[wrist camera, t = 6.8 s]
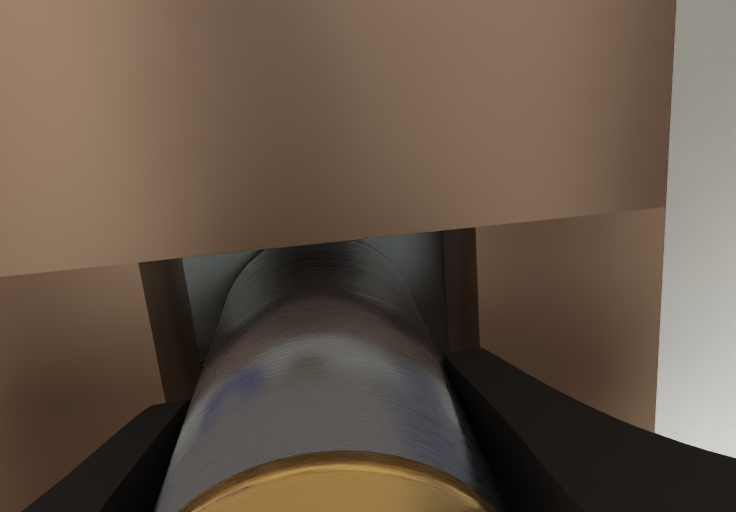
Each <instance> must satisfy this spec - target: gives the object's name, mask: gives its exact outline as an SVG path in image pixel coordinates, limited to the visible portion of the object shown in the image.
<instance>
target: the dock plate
mask: <svg viewBox="0 0 736 512" xmlns="http://www.w3.org/2000/svg"><path fill="white" fill-rule="evenodd" d="M675 16H676V0H0V512H21V511H22V510H24V509H25V508H26V507H27V506H29V505H30V504H31V503H33V502H34V501H35V500H36V499H38V498H39V497H40V496H41V495H43V494H44V493H45V492H46V491H48V490H49V489H50V488H51V487H53V486H54V485H55V484H56V483H58V482H59V481H60V480H62V479H63V478H64V477H65V476H66V475H68V474H69V473H70V472H71V471H72V470H73V469H75V468H76V467H77V466H78V465H79V464H80V463H82V462H83V461H84V460H85V459H86V458H87V457H89V456H90V455H91V454H92V453H93V452H94V451H96V450H97V449H98V448H99V447H100V446H101V445H103V444H104V443H105V442H106V441H107V440H108V439H110V438H111V437H112V436H113V435H114V434H115V433H116V432H118V431H119V430H120V429H121V428H122V427H123V426H125V425H126V424H127V423H128V422H129V421H131V420H132V419H133V418H134V417H136V416H137V415H138V414H139V413H141V412H142V411H143V410H145V409H146V408H148V407H150V406H151V405H156V404H162V403H167V402H173V401H179V400H184V399H190V400H192V397H193V394H194V392H195V389H196V386H197V383H198V380H199V377H200V374H201V367H200V361H199V356H198V350H197V344H196V339H195V333H194V327H193V322H192V316H191V310H190V305H189V299H188V293H187V288H186V282H185V276H184V271H183V265H182V259H181V258H185V257H195V256H205V255H214V254H224V253H233V252H243V251H252V250H262V249H271V248H281V247H290V246H300V245H309V244H319V243H328V242H338V241H347V240H357V239H367V238H376V237H386V236H395V235H405V234H414V233H424V232H433V231H443V248H444V267H445V286H446V305H447V324H448V344H449V353H451V352H457V351H463V350H469V349H474V348H480V347H481V348H483V349H485V350H487V351H489V352H491V353H493V354H495V355H496V356H498V357H500V358H501V359H503V360H505V361H507V362H508V363H510V364H512V365H513V366H515V367H517V368H519V369H520V370H522V371H524V372H525V373H527V374H529V375H531V376H532V377H534V378H536V379H538V380H540V381H541V382H543V383H545V384H547V385H549V386H550V387H552V388H554V389H556V390H558V391H560V392H562V393H564V394H566V395H568V396H570V397H572V398H574V399H576V400H578V401H580V402H582V403H584V404H586V405H588V406H590V407H593V408H595V409H597V410H599V411H601V412H603V413H606V414H608V415H610V416H612V417H614V418H617V419H619V420H622V421H624V422H627V423H629V424H631V425H634V426H636V427H639V428H642V429H645V430H647V431H650V432H653V433H654V427H655V408H656V388H657V369H658V349H659V329H660V310H661V290H662V270H663V251H664V231H665V212H666V192H667V172H668V153H669V133H670V114H671V94H672V74H673V55H674V35H675Z"/></svg>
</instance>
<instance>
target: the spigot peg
mask: <svg viewBox="0 0 736 512" xmlns="http://www.w3.org/2000/svg"><path fill="white" fill-rule="evenodd" d="M153 512H509V510H508V508H507V505H506V503H505V501H504V499H503V497H502V494H501V492H500V490H499V488H498V485H497V483H496V481H495V479H494V476H493V474H492V472H491V470H490V468H489V465H488V463H487V461H486V459H485V456H484V454H483V452H482V450H481V447H480V445H479V443H478V441H477V439H476V436H475V434H474V432H473V430H472V427H471V425H470V423H469V421H468V418H467V416H466V414H465V412H464V410H463V407H462V405H461V403H460V401H459V398H458V396H457V394H456V392H455V389H454V387H453V385H452V383H451V381H450V378H449V376H448V374H447V372H446V369H445V367H444V365H443V363H442V360H441V358H440V356H439V354H438V351H437V349H436V347H435V345H434V343H433V340H432V338H431V336H430V334H429V331H428V329H427V327H426V325H425V322H424V320H423V318H422V316H421V314H420V311H419V309H418V307H417V305H416V302H415V300H414V298H413V296H412V293H411V291H410V289H409V287H408V285H407V283H406V281H405V279H404V278H403V276H402V275H401V273H400V272H399V271H398V269H397V268H396V267H395V266H394V265H393V264H392V263H391V262H390V261H389V260H388V259H387V258H386V257H385V256H384V255H382V254H381V253H380V252H378V251H377V250H375V249H374V248H372V247H370V246H368V245H366V244H364V243H362V242H360V241H357V240H347V241H338V242H328V243H319V244H309V245H300V246H290V247H281V248H271V249H266V250H265V251H263V252H262V253H260V254H259V255H258V256H256V257H255V258H254V259H253V260H252V261H251V262H249V264H248V265H247V266H246V267H245V268H244V269H243V270H242V271H241V273H240V274H239V276H238V277H237V279H236V280H235V281H234V283H233V285H232V287H231V289H230V291H229V294H228V296H227V299H226V302H225V305H224V308H223V311H222V314H221V317H220V320H219V322H218V325H217V328H216V331H215V334H214V337H213V340H212V343H211V345H210V348H209V351H208V354H207V357H206V360H205V363H204V366H203V369H202V371H201V374H200V377H199V380H198V383H197V386H196V389H195V392H194V394H193V397H192V400H191V403H190V406H189V409H188V412H187V415H186V418H185V420H184V423H183V426H182V429H181V432H180V435H179V438H178V441H177V444H176V446H175V449H174V452H173V455H172V458H171V461H170V464H169V467H168V469H167V472H166V475H165V478H164V481H163V484H162V487H161V490H160V493H159V495H158V498H157V501H156V504H155V507H154V510H153Z"/></svg>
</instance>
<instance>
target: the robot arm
mask: <svg viewBox="0 0 736 512" xmlns="http://www.w3.org/2000/svg"><path fill="white" fill-rule="evenodd" d="M443 357H444V365H445V369H446V372H447V374H448V376H449V378H450V381H451V383H452V385H453V387H454V389H455V392H456V394H457V396H458V398H459V401H460V403H461V405H462V407H463V410H464V412H465V414H466V416H467V418H468V421H469V423H470V425H471V427H472V430H473V432H474V434H475V436H476V439H477V441H478V443H479V445H480V447H481V450H482V452H483V454H484V456H485V459H486V461H487V463H488V465H489V468H490V470H491V472H492V474H493V476H494V479H495V481H496V483H497V485H498V488H499V490H500V492H501V494H502V497H503V499H504V501H505V503H506V505H507V508H508V510H509V512H736V458H732V457H729V456H725V455H721V454H717V453H714V452H710V451H707V450H703V449H700V448H697V447H694V446H690V445H687V444H684V443H681V442H678V441H675V440H672V439H670V438H667V437H664V436H661V435H659V434H656V433H653V432H650V431H647V430H645V429H642V428H639V427H636V426H634V425H631V424H629V423H627V422H624V421H622V420H619V419H617V418H614V417H612V416H610V415H608V414H606V413H603V412H601V411H599V410H597V409H595V408H593V407H590V406H588V405H586V404H584V403H582V402H580V401H578V400H576V399H574V398H572V397H570V396H568V395H566V394H564V393H562V392H560V391H558V390H556V389H554V388H552V387H550V386H549V385H547V384H545V383H543V382H541V381H540V380H538V379H536V378H534V377H532V376H531V375H529V374H527V373H525V372H524V371H522V370H520V369H519V368H517V367H515V366H513V365H512V364H510V363H508V362H507V361H505V360H503V359H501V358H500V357H498V356H496V355H495V354H493V353H491V352H489V351H487V350H485V349H483V348H481V347H480V348H474V349H469V350H463V351H457V352H451V353H446V354H443ZM190 403H191V400H190V399H184V400H179V401H173V402H167V403H162V404H156V405H151V406H150V407H148V408H146V409H145V410H143V411H142V412H141V413H139V414H138V415H137V416H136V417H134V418H133V419H132V420H131V421H129V422H128V423H127V424H126V425H125V426H123V427H122V428H121V429H120V430H119V431H118V432H116V433H115V434H114V435H113V436H112V437H111V438H110V439H108V440H107V441H106V442H105V443H104V444H103V445H101V446H100V447H99V448H98V449H97V450H96V451H94V452H93V453H92V454H91V455H90V456H89V457H87V458H86V459H85V460H84V461H83V462H82V463H80V464H79V465H78V466H77V467H76V468H75V469H73V470H72V471H71V472H70V473H69V474H68V475H66V476H65V477H64V478H63V479H62V480H60V481H59V482H58V483H56V484H55V485H54V486H53V487H51V488H50V489H49V490H48V491H46V492H45V493H44V494H43V495H41V496H40V497H39V498H38V499H36V500H35V501H34V502H33V503H31V504H30V505H29V506H27V507H26V508H25V509H24V510H22V511H21V512H153V510H154V507H155V504H156V501H157V498H158V495H159V493H160V490H161V487H162V484H163V481H164V478H165V475H166V472H167V469H168V467H169V464H170V461H171V458H172V455H173V452H174V449H175V446H176V444H177V441H178V438H179V435H180V432H181V429H182V426H183V423H184V420H185V418H186V415H187V412H188V409H189V406H190Z"/></svg>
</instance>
